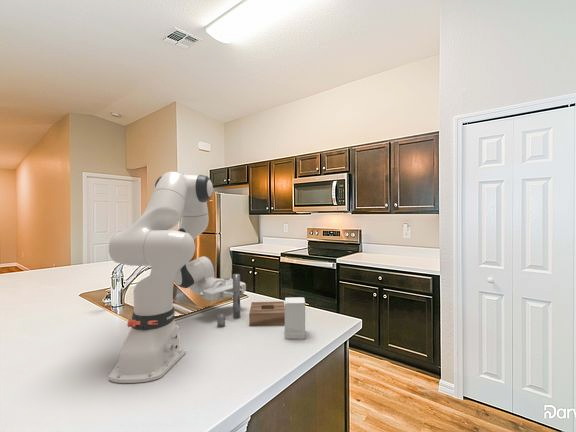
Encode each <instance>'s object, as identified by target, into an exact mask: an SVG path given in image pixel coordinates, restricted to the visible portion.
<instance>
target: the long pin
mask: <svg viewBox="0 0 576 432" xmlns="http://www.w3.org/2000/svg"><path fill="white" fill-rule="evenodd" d="M232 279H233V293H234V297H232V318H233V319H240V318H241V295H240V282H241V274H240V273H234V274H232Z"/></svg>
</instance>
